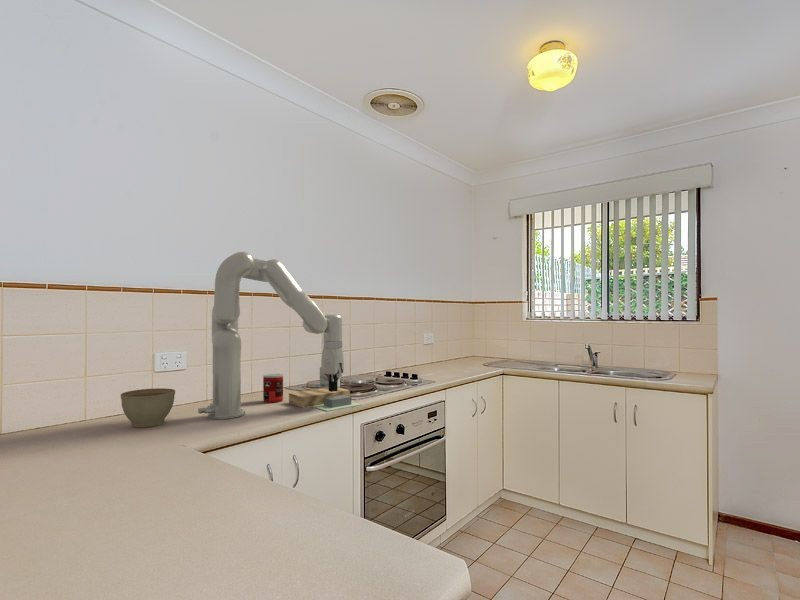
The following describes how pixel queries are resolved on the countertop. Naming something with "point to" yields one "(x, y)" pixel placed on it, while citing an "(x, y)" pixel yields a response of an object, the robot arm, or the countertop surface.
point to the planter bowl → (147, 406)
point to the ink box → (325, 380)
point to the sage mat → (335, 407)
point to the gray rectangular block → (337, 401)
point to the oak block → (314, 396)
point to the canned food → (273, 388)
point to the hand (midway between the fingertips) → (333, 391)
